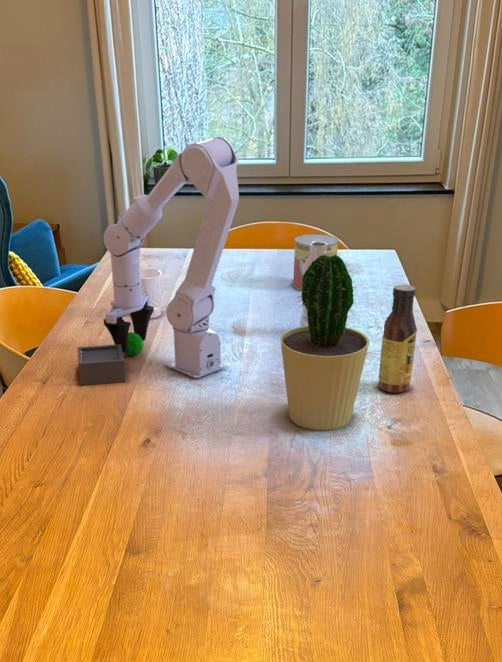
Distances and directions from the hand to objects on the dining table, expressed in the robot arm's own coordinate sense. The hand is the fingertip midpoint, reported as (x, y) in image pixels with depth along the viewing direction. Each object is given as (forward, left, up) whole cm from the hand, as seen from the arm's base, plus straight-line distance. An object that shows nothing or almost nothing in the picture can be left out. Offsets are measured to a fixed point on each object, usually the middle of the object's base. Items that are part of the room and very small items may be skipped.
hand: (131, 345), depth 171 cm
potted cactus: (-48, -6, -2) cm, 49 cm away
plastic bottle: (-19, -38, -2) cm, 42 cm away
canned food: (+4, -65, -2) cm, 65 cm away
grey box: (-4, +11, -2) cm, 12 cm away
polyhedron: (0, 0, -2) cm, 2 cm away
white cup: (+18, -19, -2) cm, 26 cm away
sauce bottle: (-50, -26, -2) cm, 57 cm away
